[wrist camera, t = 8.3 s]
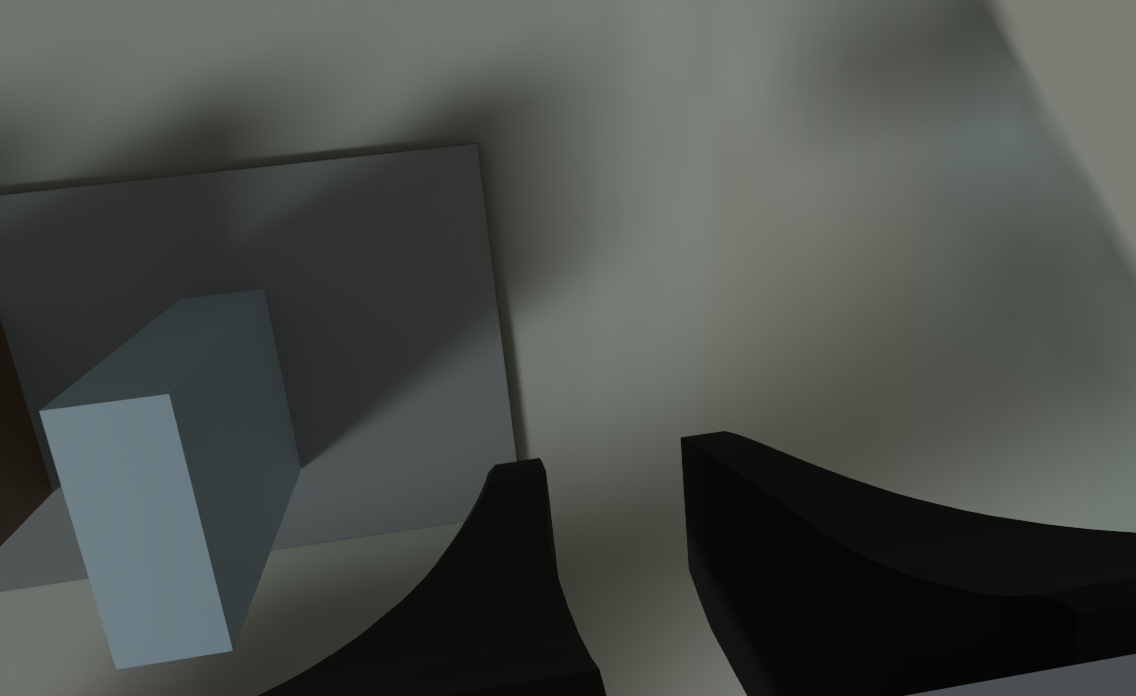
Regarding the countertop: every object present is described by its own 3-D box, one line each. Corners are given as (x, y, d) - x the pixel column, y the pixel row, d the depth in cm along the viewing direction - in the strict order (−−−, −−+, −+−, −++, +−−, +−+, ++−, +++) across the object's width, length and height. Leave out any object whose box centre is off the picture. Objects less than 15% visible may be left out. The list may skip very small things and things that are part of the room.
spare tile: (264, 288, 19) (168, 393, 13) (301, 469, 21) (232, 651, 14) (180, 298, 19) (39, 411, 12) (223, 480, 20) (116, 669, 14)
